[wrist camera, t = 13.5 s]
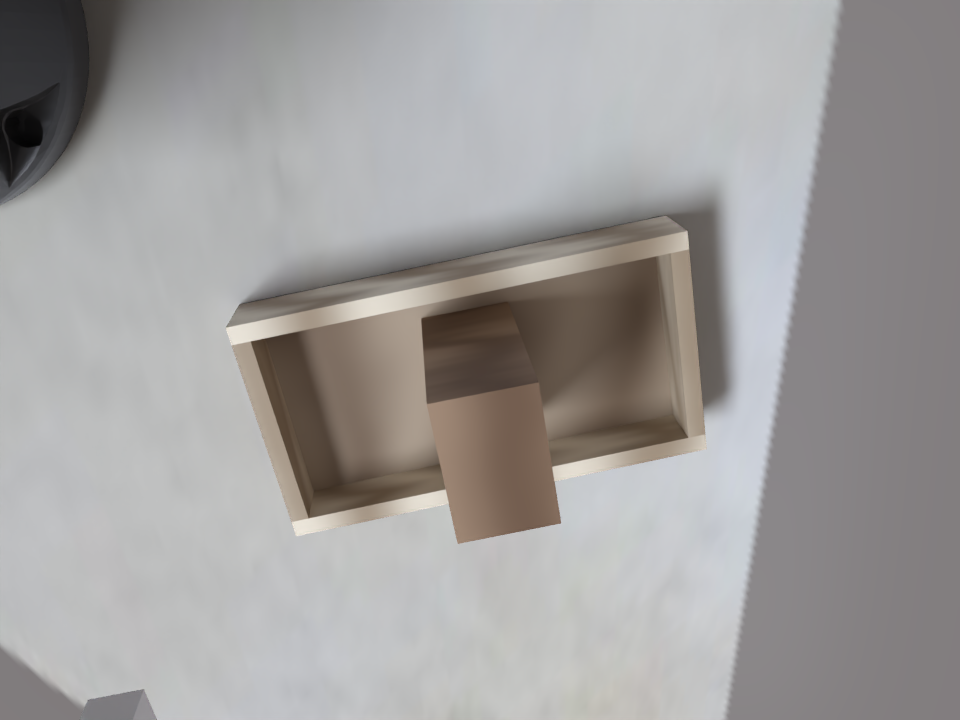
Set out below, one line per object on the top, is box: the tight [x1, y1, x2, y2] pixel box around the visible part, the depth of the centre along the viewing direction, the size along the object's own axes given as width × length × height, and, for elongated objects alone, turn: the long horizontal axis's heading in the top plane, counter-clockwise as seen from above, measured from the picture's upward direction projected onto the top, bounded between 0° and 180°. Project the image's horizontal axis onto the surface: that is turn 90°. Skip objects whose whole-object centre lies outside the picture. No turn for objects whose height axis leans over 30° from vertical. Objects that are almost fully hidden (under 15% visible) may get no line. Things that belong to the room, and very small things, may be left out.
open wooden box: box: [226, 216, 707, 536], centre depth 37 cm, size 20×11×3 cm, turn 101°
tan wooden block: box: [421, 302, 561, 544], centre depth 33 cm, size 4×6×9 cm, turn 10°
